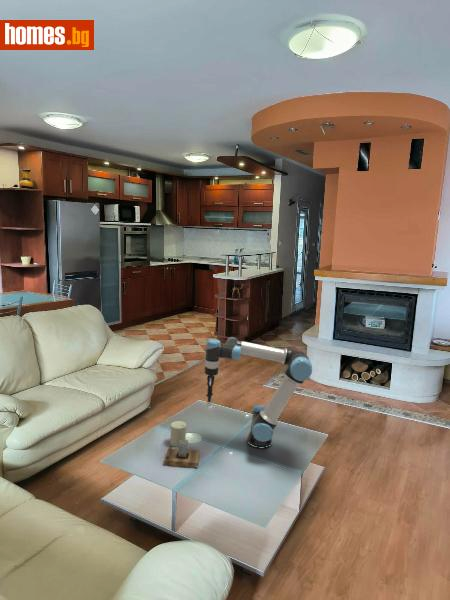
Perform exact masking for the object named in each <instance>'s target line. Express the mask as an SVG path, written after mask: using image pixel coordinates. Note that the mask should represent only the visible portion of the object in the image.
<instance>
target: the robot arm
mask: <svg viewBox="0 0 450 600" xmlns="http://www.w3.org/2000/svg"><path fill="white" fill-rule="evenodd" d="M241 355H245V356H250V357H254V358H260V359H263V360H268V361H269V360H270V361H275V362H279V363H281V364H282V365H284V366H286V369H285V371H284V377H283V379H282V380H281V382H280V384H279V385H278V387H277V388H276V391H275V392H274V394H273V396H272V397H271V399H270V400H269V402H268V404H267V405H265V404H256V405H254V406H253V407H252V412H251V413H252V416H251V424H250V425H251V427H250V430H249V432H248V435H247V438H246V442H247V441H248V442H249V443H250V444H252V445H254V446H257V447H266V446H269V445H271V443H273V435H274V431H275V429H276V427H277V425H278V424H279V422H278V419H279V417H280V415H281V414H282V412H283V410H284V409H285V408H286V406H287V404H288V402H289V401H290V399H291V397H292V396H293V394H294V393H295V391H296V390H297V388H298V386H300V385H303V383H305V381H307V380H308V379H309V378H310V377H311V375H312V373H313V366H312V363H311V361H310V358H309V356H308V355H307V354H306V353H305V352H303V351H301V350H297V349H292V348H288V347H285V348H278V347H274V346H267V345H263V344H259V343H254V342H253V343H252V342H249V341H243V340H238V339H237V337H232V336H231V337H229V338H228V339H227V340H226V341H225V344H222V343H221V341H220V340H219V339H216V338H215V339H213V338H212V339H208V340H206V348H205V360H204V363H205V367H204V374H205V375H207V378H206V381H207V383H206V385H207V394H205V397H206V408H207V407H208V408H211V407H212V404H213V403H212V402H213V401H212V400H213V395H214V393H213V386H214V381H215V376H217V375H218V374H219V366H220V364H219V362H220V359H229V360H240V359H241V358H242V357H241ZM248 442H247V443H248ZM271 446H272V445H271Z"/></svg>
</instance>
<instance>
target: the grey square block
mask: <svg viewBox="0 0 450 600" xmlns="http://www.w3.org/2000/svg"><path fill="white" fill-rule="evenodd" d="M188 443H189V440H187V439H185V440H180V441H179V447H178V449H179V450H178V457H177V458H179V459H188V458H187V450H188V446H189V445H188Z"/></svg>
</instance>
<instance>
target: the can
mask: <svg viewBox="0 0 450 600" xmlns="http://www.w3.org/2000/svg"><path fill="white" fill-rule="evenodd" d="M186 434H187V423H186V422H185V421H181V420H176V421H173V422H171V424H170V439H169V444H170V446H172V447H177V448H179V441H180V440H186V438H187V437H186V436H187V435H186Z"/></svg>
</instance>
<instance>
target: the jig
mask: <svg viewBox="0 0 450 600" xmlns="http://www.w3.org/2000/svg"><path fill="white" fill-rule="evenodd" d="M172 447H173V446H172V445H170V446H169V447H168V448H167V450H166V455H165V457H164V462H163V463H164V464H163V466H168V467H177V468H178V467H180V468H190V467H196V466H198V467H199V463H198V462H200V455H201V454H200V453H201V451H200V450H193V449H187V459H179V458H178V450H179V448H172Z"/></svg>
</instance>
